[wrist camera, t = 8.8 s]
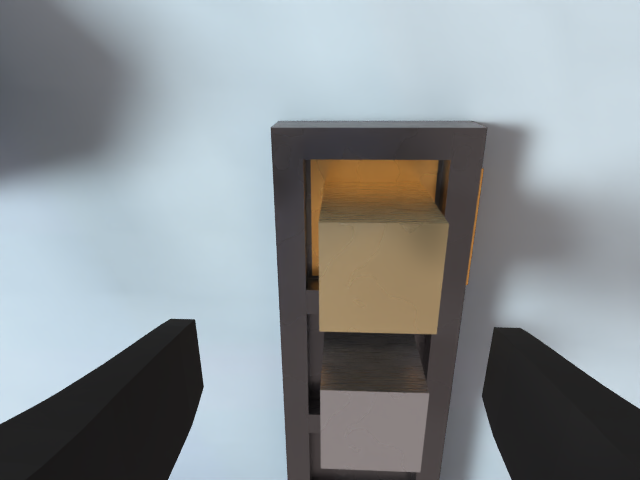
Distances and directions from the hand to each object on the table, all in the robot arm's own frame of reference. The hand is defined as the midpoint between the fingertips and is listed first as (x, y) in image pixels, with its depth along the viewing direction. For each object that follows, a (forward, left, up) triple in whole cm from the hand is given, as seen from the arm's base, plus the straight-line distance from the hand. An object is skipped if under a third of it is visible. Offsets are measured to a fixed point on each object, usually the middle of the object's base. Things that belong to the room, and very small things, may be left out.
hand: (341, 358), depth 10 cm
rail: (-6, -1, -10) cm, 12 cm away
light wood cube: (0, -1, -9) cm, 9 cm away
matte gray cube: (-6, -1, -9) cm, 11 cm away
